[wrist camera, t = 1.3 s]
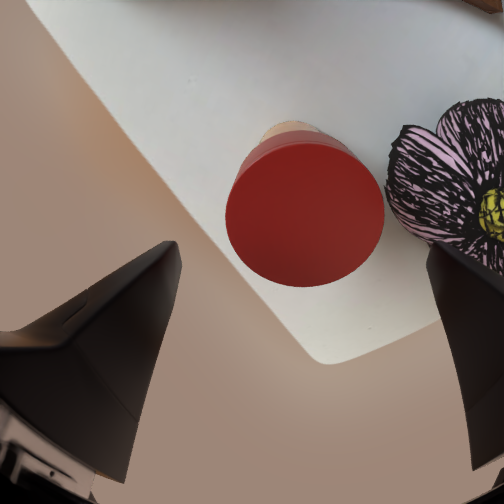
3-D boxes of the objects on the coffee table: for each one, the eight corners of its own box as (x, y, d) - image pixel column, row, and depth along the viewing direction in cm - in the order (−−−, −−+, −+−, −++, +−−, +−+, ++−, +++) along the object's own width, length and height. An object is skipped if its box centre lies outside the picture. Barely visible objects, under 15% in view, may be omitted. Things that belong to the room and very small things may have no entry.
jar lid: (372, 133, 11) (396, 148, 9) (359, 251, 14) (372, 286, 12) (229, 131, 12) (217, 145, 9) (240, 251, 15) (232, 287, 13)
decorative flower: (527, 36, 5) (614, 273, 5) (475, 55, 13) (559, 199, 14) (331, 206, 15) (457, 367, 15) (362, 154, 23) (453, 273, 24)
